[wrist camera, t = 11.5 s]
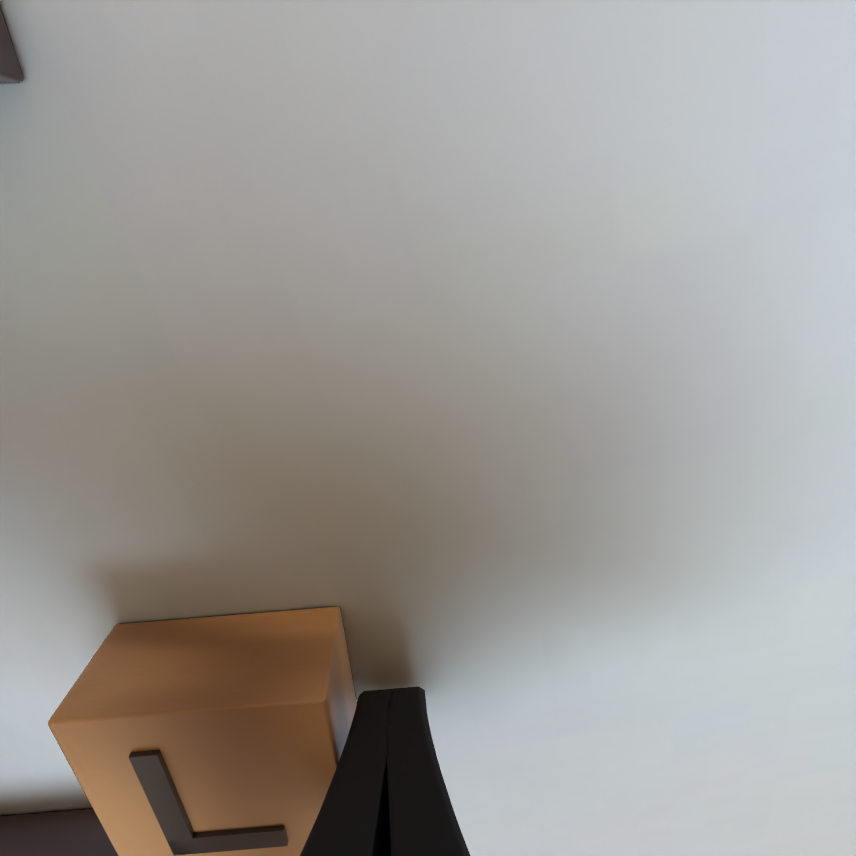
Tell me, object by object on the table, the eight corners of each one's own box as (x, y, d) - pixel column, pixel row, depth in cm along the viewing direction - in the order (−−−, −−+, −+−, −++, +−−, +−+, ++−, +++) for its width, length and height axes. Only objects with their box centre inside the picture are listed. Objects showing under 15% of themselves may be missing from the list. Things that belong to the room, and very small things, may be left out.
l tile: (174, 768, 12) (126, 885, 10) (115, 623, 10) (41, 729, 8) (366, 752, 12) (357, 866, 10) (340, 605, 10) (323, 706, 8)
